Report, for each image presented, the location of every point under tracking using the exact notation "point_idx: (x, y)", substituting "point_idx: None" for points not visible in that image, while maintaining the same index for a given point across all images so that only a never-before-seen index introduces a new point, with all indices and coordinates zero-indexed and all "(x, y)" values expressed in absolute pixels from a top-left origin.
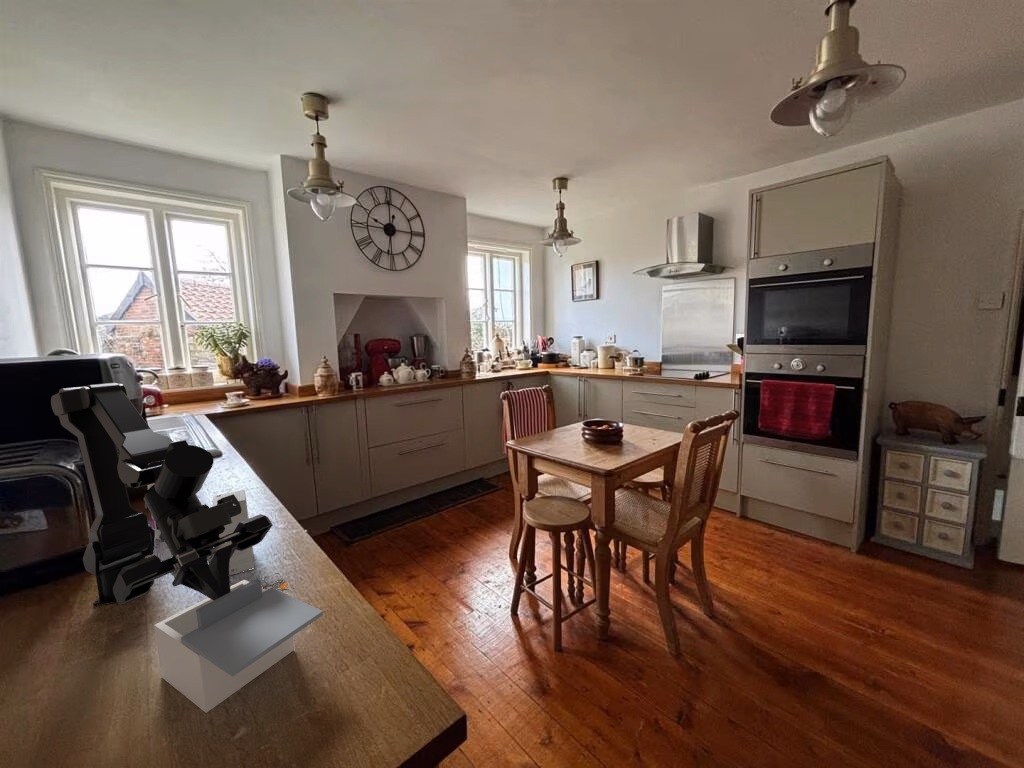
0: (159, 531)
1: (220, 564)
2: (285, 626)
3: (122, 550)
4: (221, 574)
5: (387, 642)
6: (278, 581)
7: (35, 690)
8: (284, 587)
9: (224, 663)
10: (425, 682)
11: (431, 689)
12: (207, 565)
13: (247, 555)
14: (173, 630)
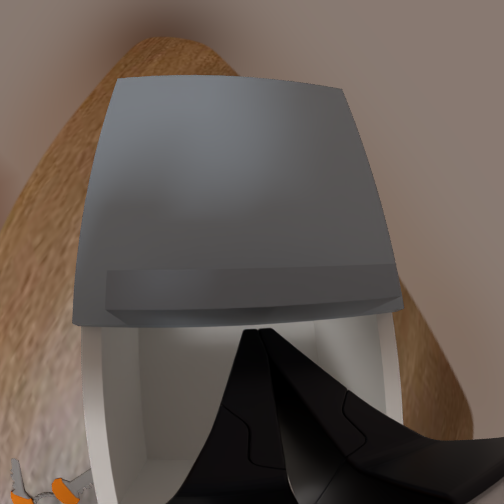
0: None
1: (264, 483)
2: (200, 97)
3: None
4: (270, 420)
5: (57, 142)
6: None
7: None
8: (26, 501)
9: (347, 114)
10: (113, 67)
11: (121, 59)
12: (387, 471)
13: None
14: (387, 411)
